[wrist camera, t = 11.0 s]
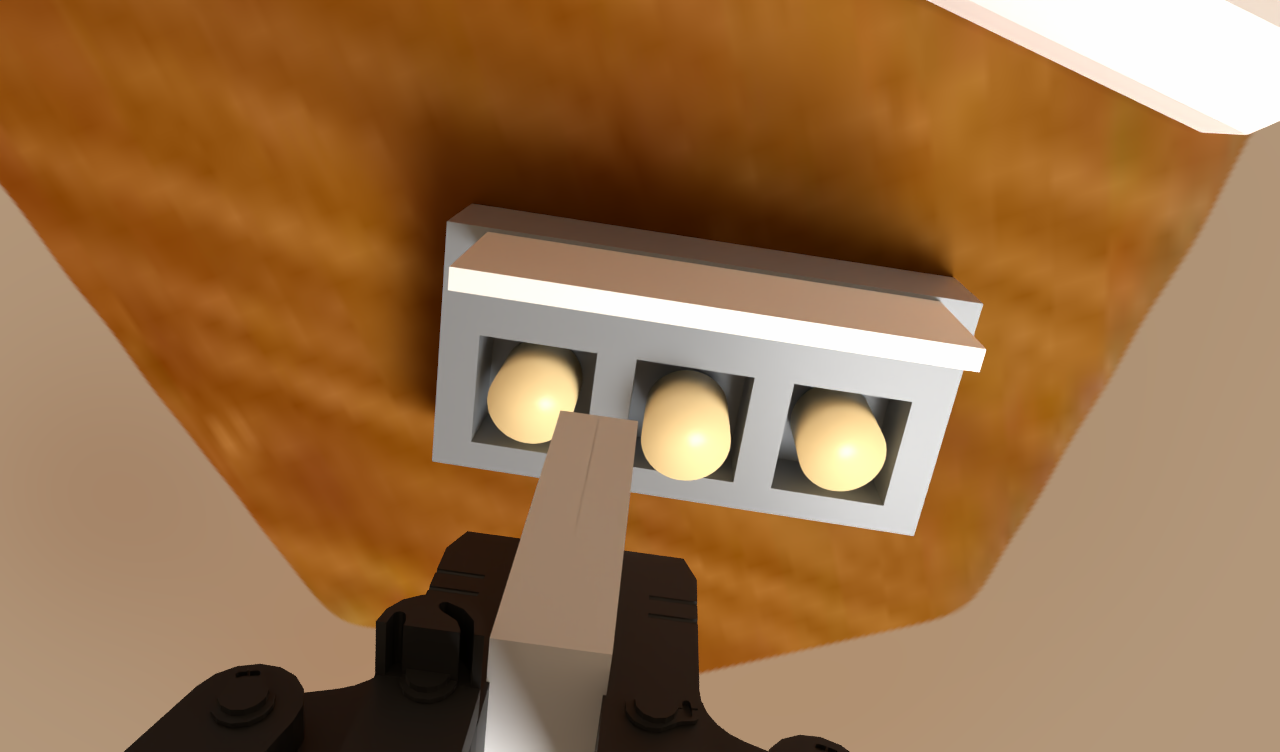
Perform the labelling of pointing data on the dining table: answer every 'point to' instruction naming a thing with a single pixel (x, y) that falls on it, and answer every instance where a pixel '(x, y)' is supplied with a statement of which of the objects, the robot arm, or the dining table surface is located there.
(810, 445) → the button right
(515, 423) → the button left
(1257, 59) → the crystal
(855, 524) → the console
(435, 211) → the dining table surface
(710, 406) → the button middle
